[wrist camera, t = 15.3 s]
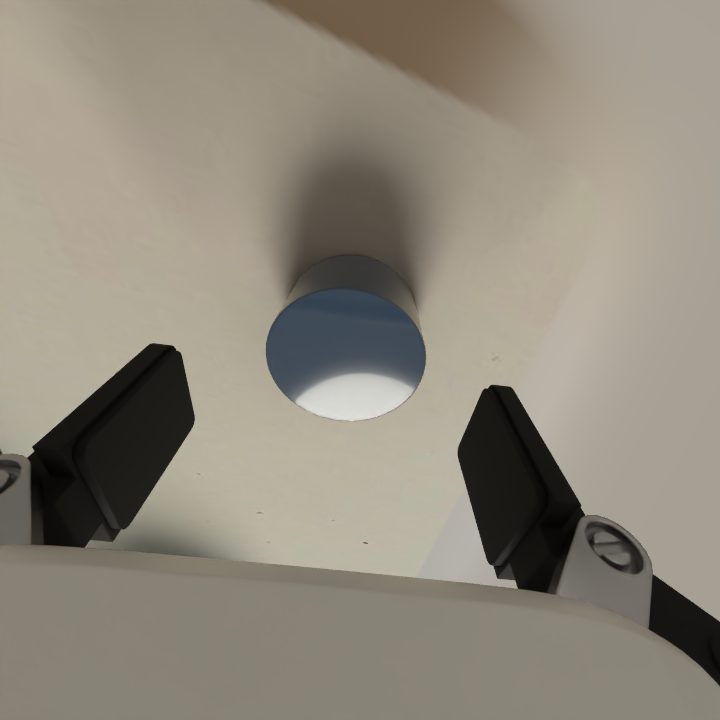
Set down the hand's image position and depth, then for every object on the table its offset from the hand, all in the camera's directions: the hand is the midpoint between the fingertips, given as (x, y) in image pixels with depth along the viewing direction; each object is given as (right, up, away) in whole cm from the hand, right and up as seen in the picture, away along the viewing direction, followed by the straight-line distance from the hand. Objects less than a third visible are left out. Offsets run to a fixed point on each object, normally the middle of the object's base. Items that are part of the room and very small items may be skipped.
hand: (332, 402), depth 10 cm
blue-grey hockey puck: (+1, +3, +4) cm, 5 cm away
